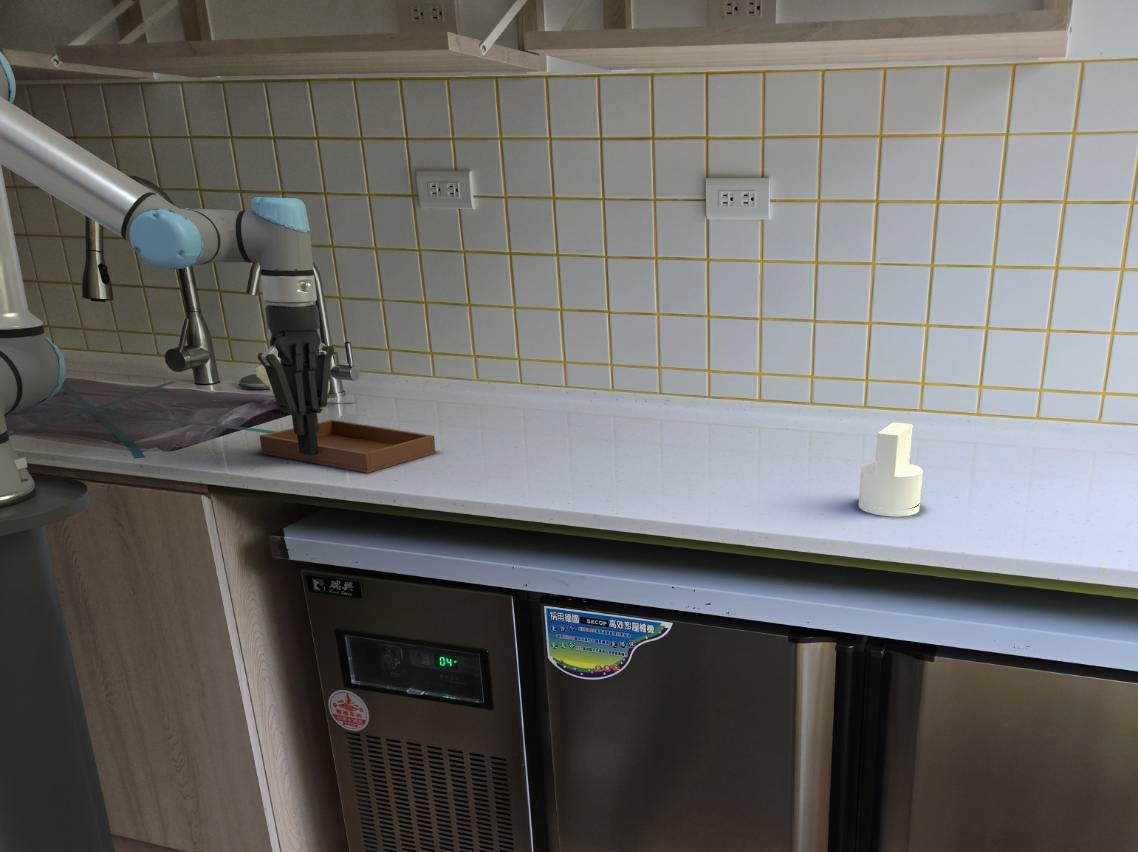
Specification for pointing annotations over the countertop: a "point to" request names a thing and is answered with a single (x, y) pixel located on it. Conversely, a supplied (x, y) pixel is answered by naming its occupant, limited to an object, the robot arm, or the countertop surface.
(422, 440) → the tray
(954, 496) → the countertop surface
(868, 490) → the cylinder with rectangular tab
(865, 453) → the countertop surface
